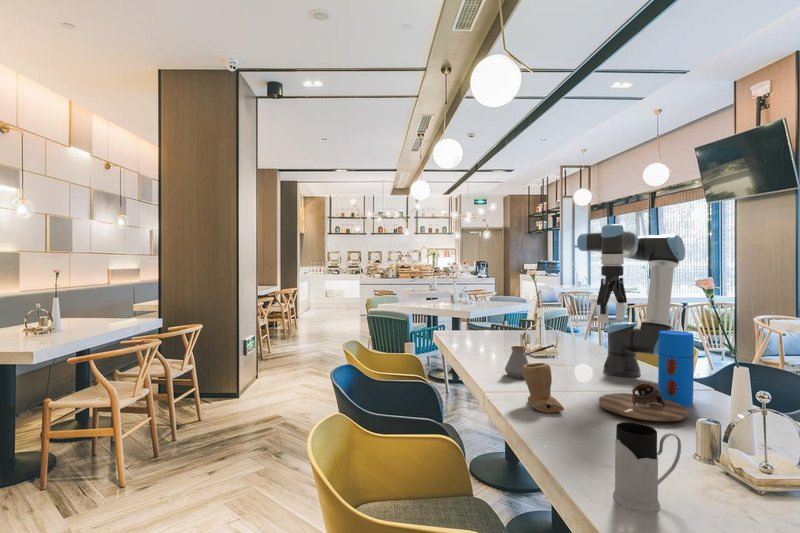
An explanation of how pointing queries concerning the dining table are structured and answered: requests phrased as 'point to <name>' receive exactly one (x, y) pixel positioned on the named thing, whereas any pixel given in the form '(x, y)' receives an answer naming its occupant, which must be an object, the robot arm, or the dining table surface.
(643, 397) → the pottery mug
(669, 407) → the disc
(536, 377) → the brown boot vase
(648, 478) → the glass holder
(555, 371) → the dining table surface
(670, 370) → the thermos
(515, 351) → the coffee pot
